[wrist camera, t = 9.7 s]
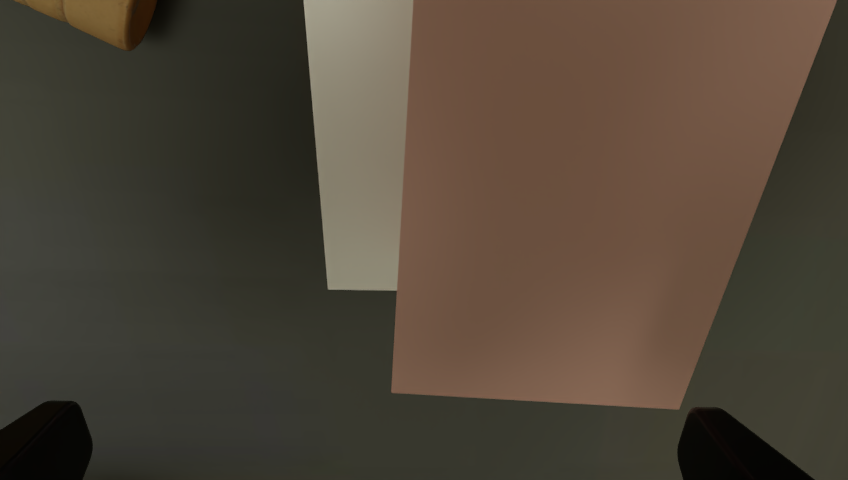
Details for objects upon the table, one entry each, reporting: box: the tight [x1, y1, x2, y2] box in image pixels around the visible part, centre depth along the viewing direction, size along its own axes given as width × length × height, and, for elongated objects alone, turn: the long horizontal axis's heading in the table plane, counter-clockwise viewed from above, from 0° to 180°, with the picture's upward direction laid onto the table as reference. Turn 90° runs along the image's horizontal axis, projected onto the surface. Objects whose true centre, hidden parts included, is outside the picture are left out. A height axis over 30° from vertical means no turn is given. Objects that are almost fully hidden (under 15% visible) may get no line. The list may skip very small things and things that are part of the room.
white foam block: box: [304, 0, 413, 291], centre depth 16 cm, size 10×10×5 cm
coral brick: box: [391, 0, 837, 410], centre depth 12 cm, size 8×6×5 cm
